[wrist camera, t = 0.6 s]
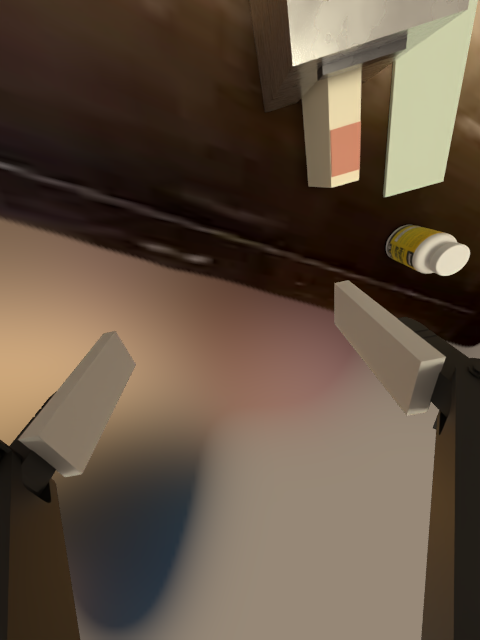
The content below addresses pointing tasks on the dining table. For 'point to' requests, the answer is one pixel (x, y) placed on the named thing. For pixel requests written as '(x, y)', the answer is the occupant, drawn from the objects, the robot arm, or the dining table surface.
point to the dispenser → (337, 39)
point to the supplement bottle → (427, 250)
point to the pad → (426, 106)
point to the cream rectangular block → (333, 129)
